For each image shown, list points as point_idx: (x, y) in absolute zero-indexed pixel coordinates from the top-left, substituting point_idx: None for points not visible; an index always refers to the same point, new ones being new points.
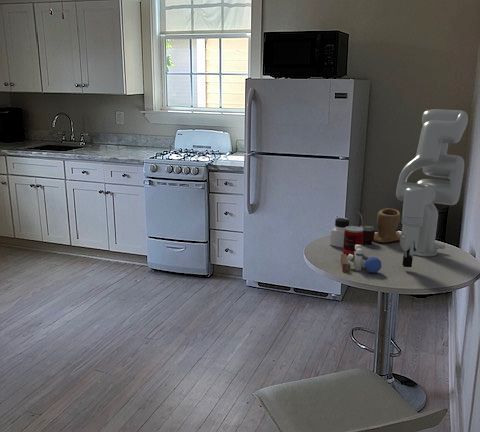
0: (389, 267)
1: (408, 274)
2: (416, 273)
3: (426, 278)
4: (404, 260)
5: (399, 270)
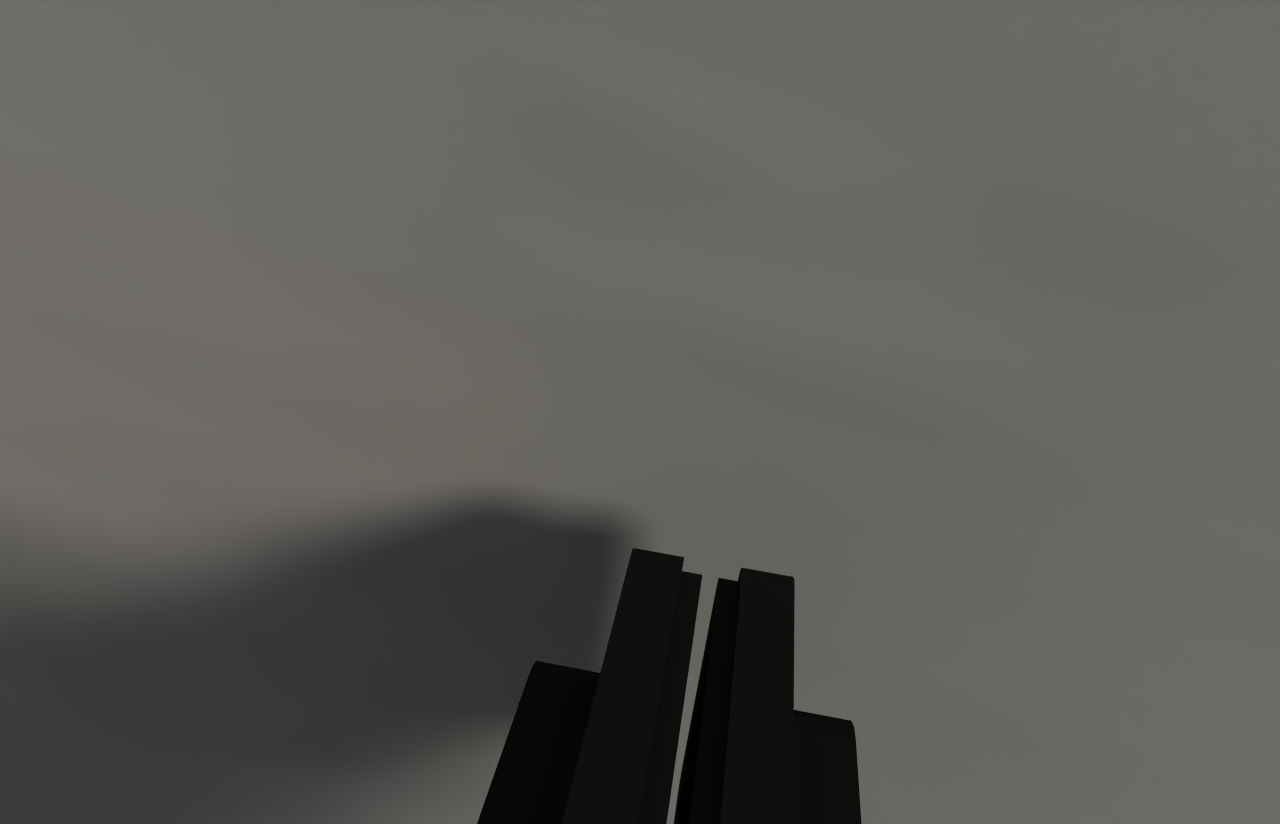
0: (1030, 83)
1: (347, 510)
2: (476, 730)
3: (165, 799)
4: (586, 750)
5: (684, 366)
